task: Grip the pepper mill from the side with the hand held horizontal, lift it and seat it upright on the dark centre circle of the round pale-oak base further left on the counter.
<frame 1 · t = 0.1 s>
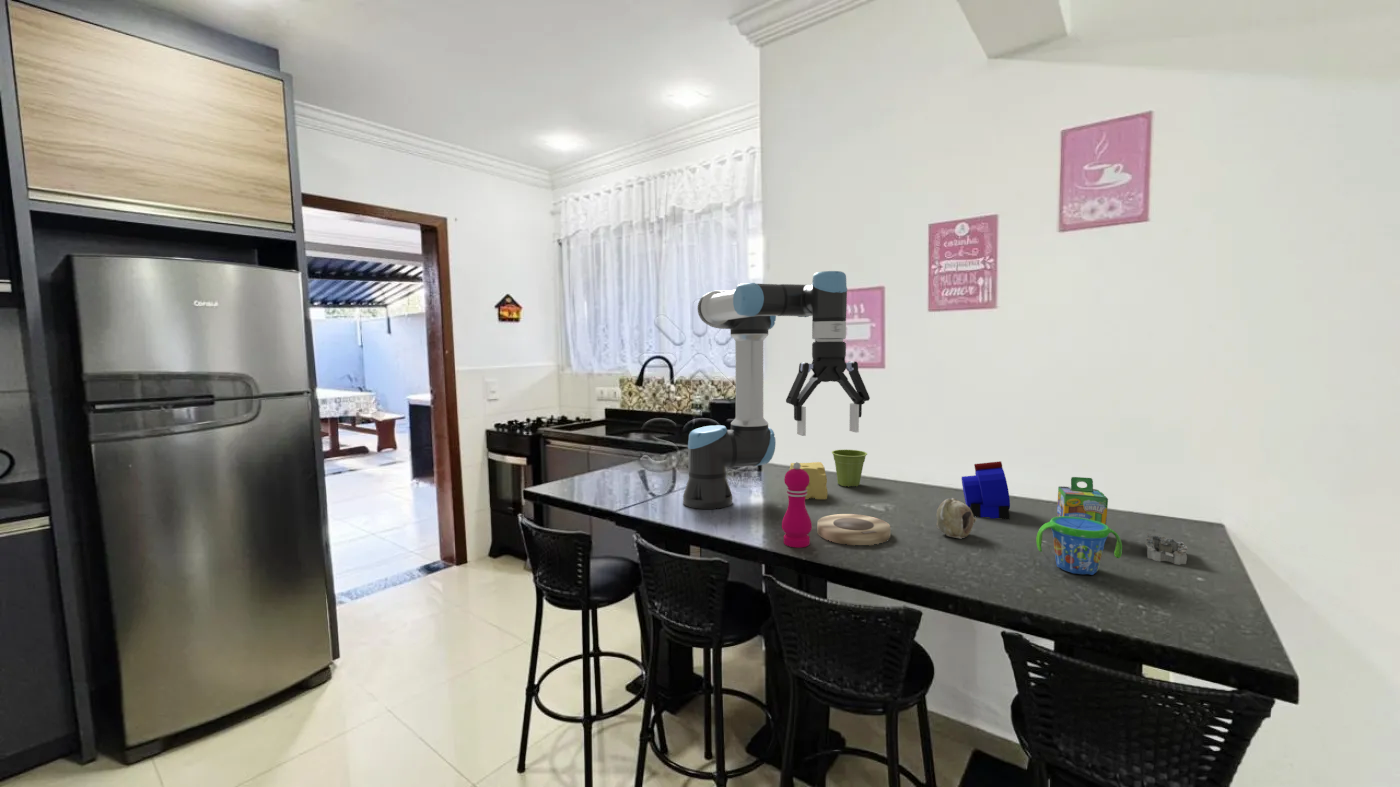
hand: (828, 433, 135), 28 cm above the breakfast bar, tool pointing down, fingers open, 13 cm apart
plant pot: (848, 485, 202), on the breakfast bar
oak base: (853, 533, 150), on the breakfast bar
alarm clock: (984, 512, 169), on the breakfast bar
chalk box: (1079, 537, 147), on the breakfast bar
sea shell: (955, 535, 149), on the breakfast bar
egg carton: (1164, 557, 133), on the breakfast bar
snack cup: (1076, 570, 125), on the breakfast bar
pepper mill: (796, 544, 143), on the breakfast bar
cheese: (807, 496, 188), on the breakfast bar
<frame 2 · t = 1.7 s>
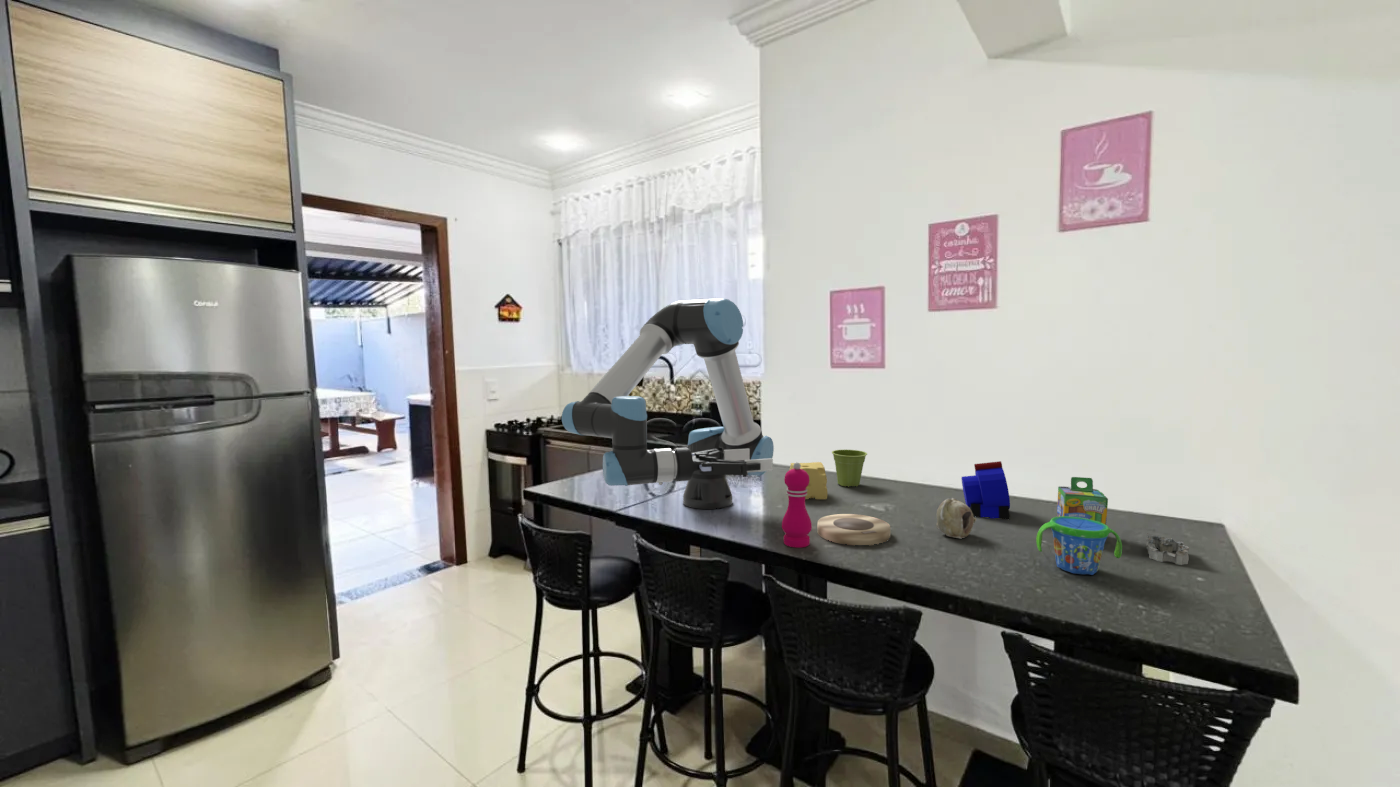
hand: (760, 459, 138), 21 cm above the breakfast bar, tool horizontal, fingers open, 13 cm apart
nothing on the breakfast bar moved.
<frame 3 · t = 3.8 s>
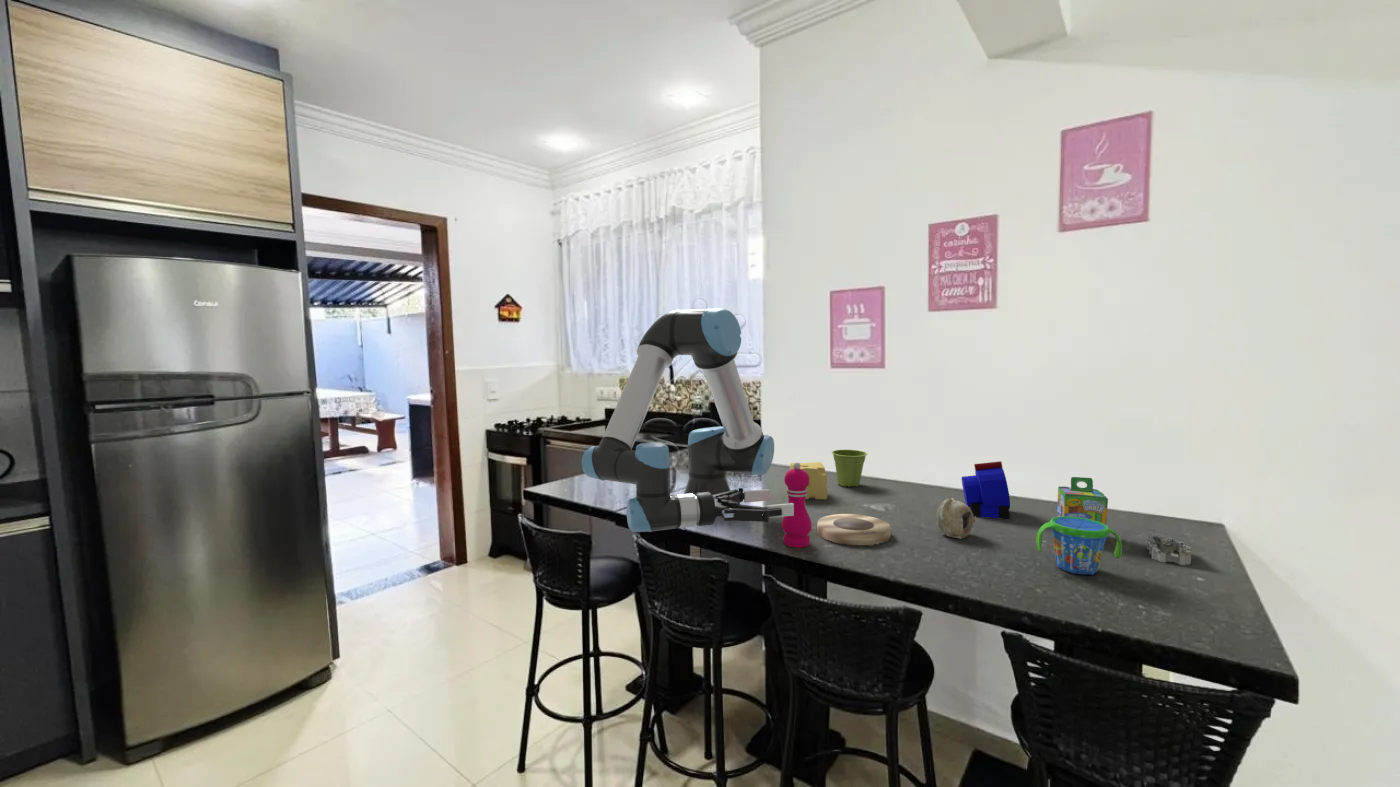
hand: (780, 501, 140), 11 cm above the breakfast bar, tool horizontal, fingers open, 13 cm apart
nothing on the breakfast bar moved.
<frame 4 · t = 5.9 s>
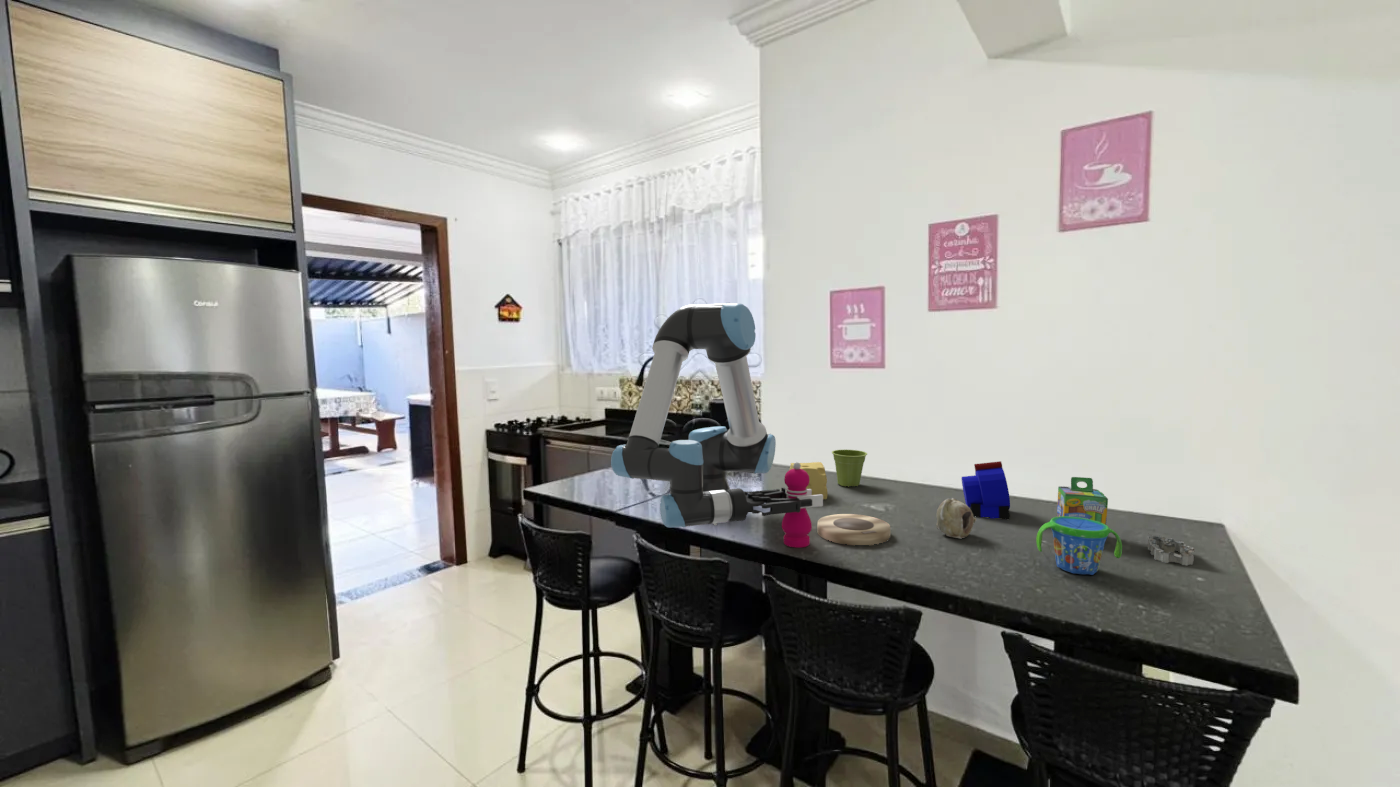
hand: (816, 497, 144), 11 cm above the breakfast bar, tool horizontal, fingers closed on pepper mill, 5 cm apart
pepper mill: (796, 544, 143), on the breakfast bar, touching gripper
everything else where it was.
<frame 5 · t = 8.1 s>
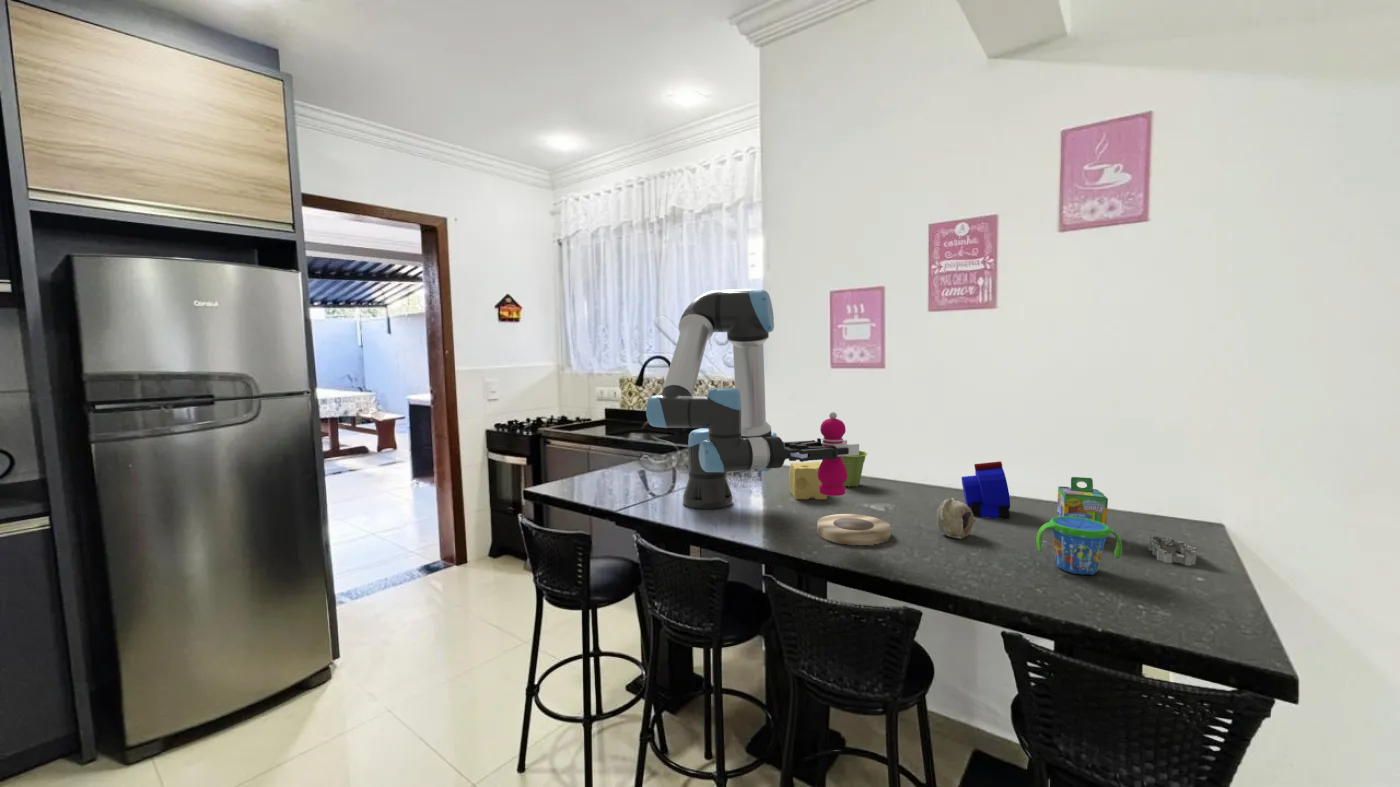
hand: (852, 447, 145), 23 cm above the breakfast bar, tool horizontal, fingers closed on pepper mill, 5 cm apart
pepper mill: (832, 493, 145), point 12 cm above the breakfast bar, touching gripper
everything else where it was.
when the fingers open (15 cm above the breakfast bar, at t = 10.3 s): pepper mill drops 1 cm, resting on oak base.
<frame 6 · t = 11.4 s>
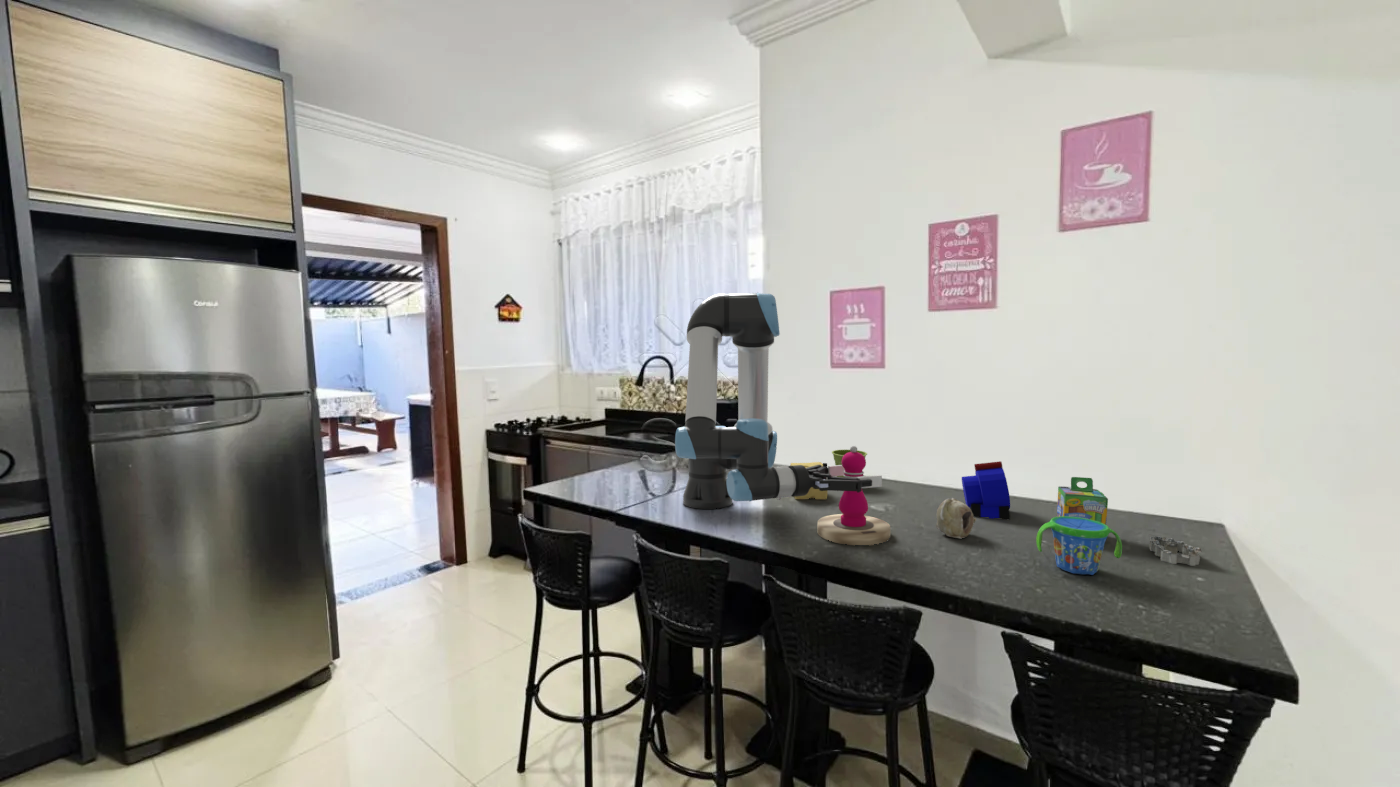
hand: (865, 474, 150), 15 cm above the breakfast bar, tool horizontal, fingers open, 13 cm apart
pepper mill: (853, 524, 150), point 2 cm above the breakfast bar, touching oak base
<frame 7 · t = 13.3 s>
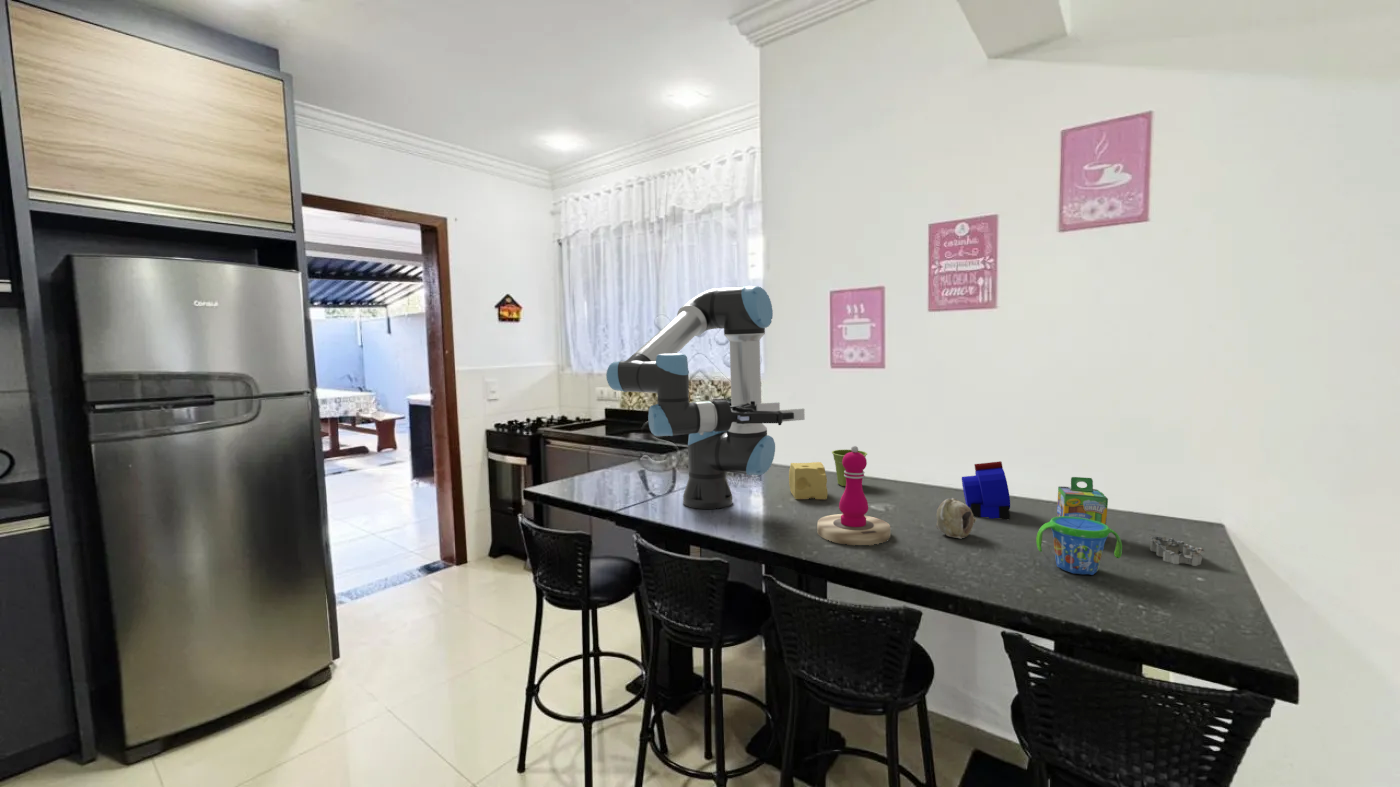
hand: (791, 410, 150), 32 cm above the breakfast bar, tool horizontal, fingers open, 13 cm apart
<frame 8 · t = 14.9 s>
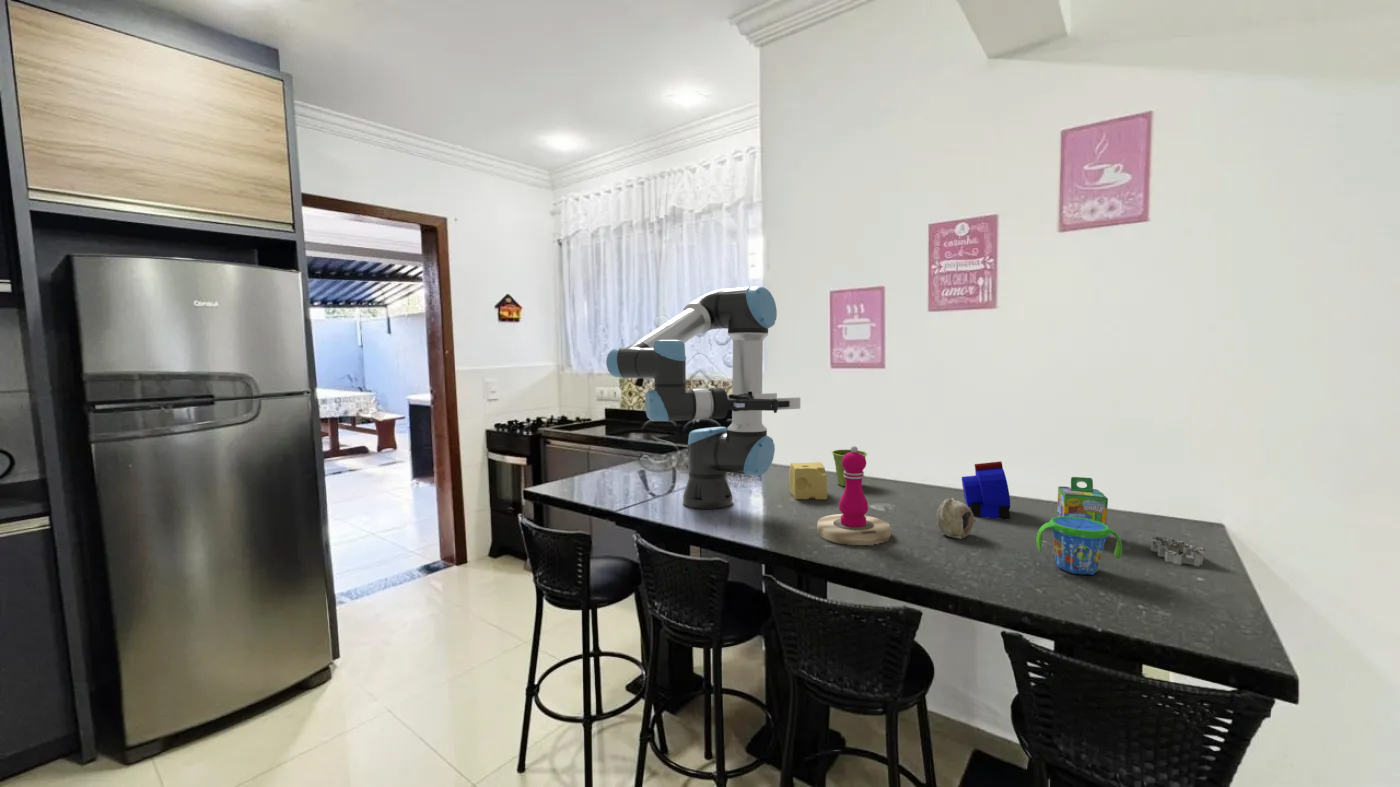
hand: (787, 400, 151), 34 cm above the breakfast bar, tool horizontal, fingers open, 13 cm apart
at the end: pepper mill inside the target area on the oak base (0.0 cm from its centre), point 2.4 cm above the oak base's base; pepper mill tilted 0°; the gripper is holding nothing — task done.
